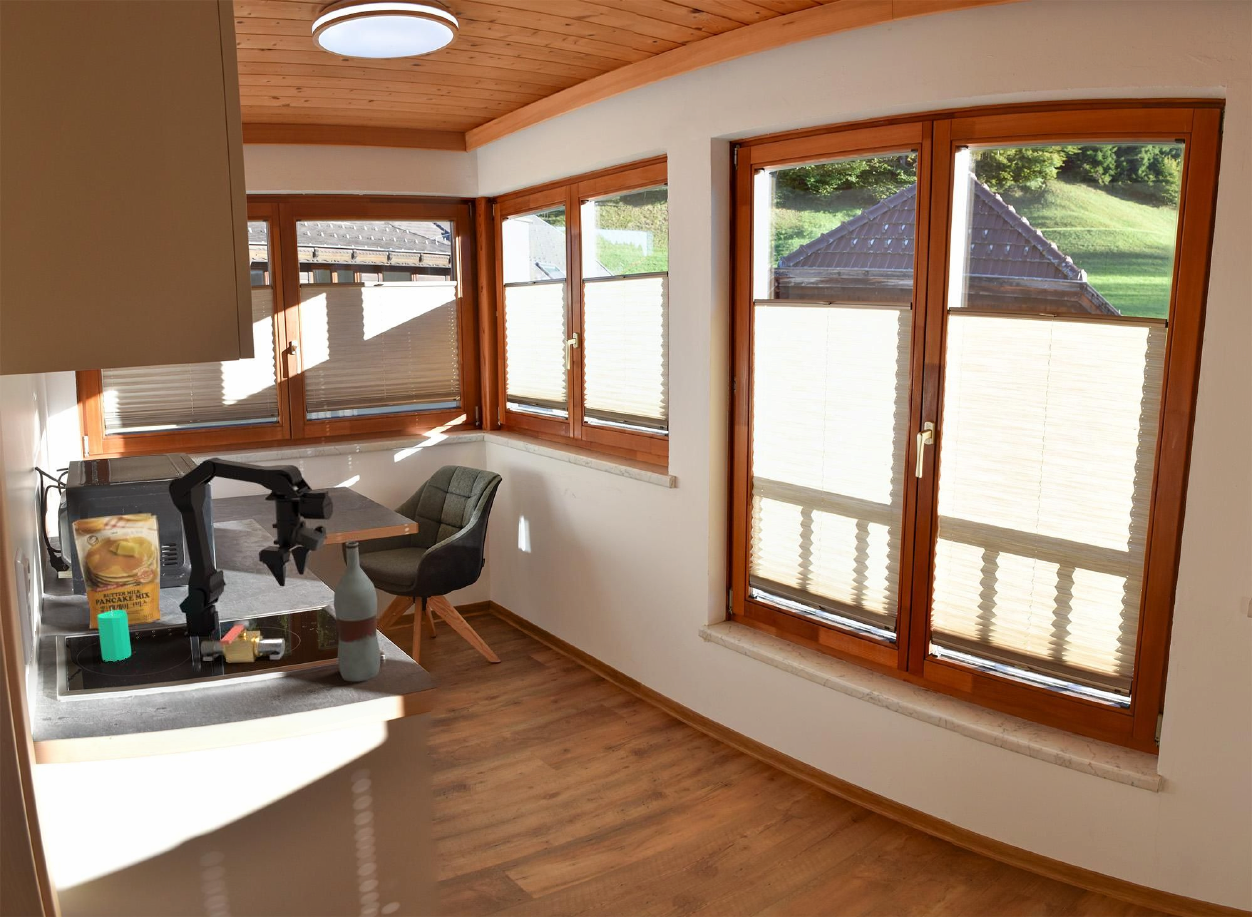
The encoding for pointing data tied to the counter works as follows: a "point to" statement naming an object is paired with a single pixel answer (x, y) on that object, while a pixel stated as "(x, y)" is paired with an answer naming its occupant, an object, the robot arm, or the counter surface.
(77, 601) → the counter surface
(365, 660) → the vodka
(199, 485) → the robot arm
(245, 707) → the counter surface
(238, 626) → the lever
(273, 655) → the valve
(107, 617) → the candle
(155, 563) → the pancake mix bag
